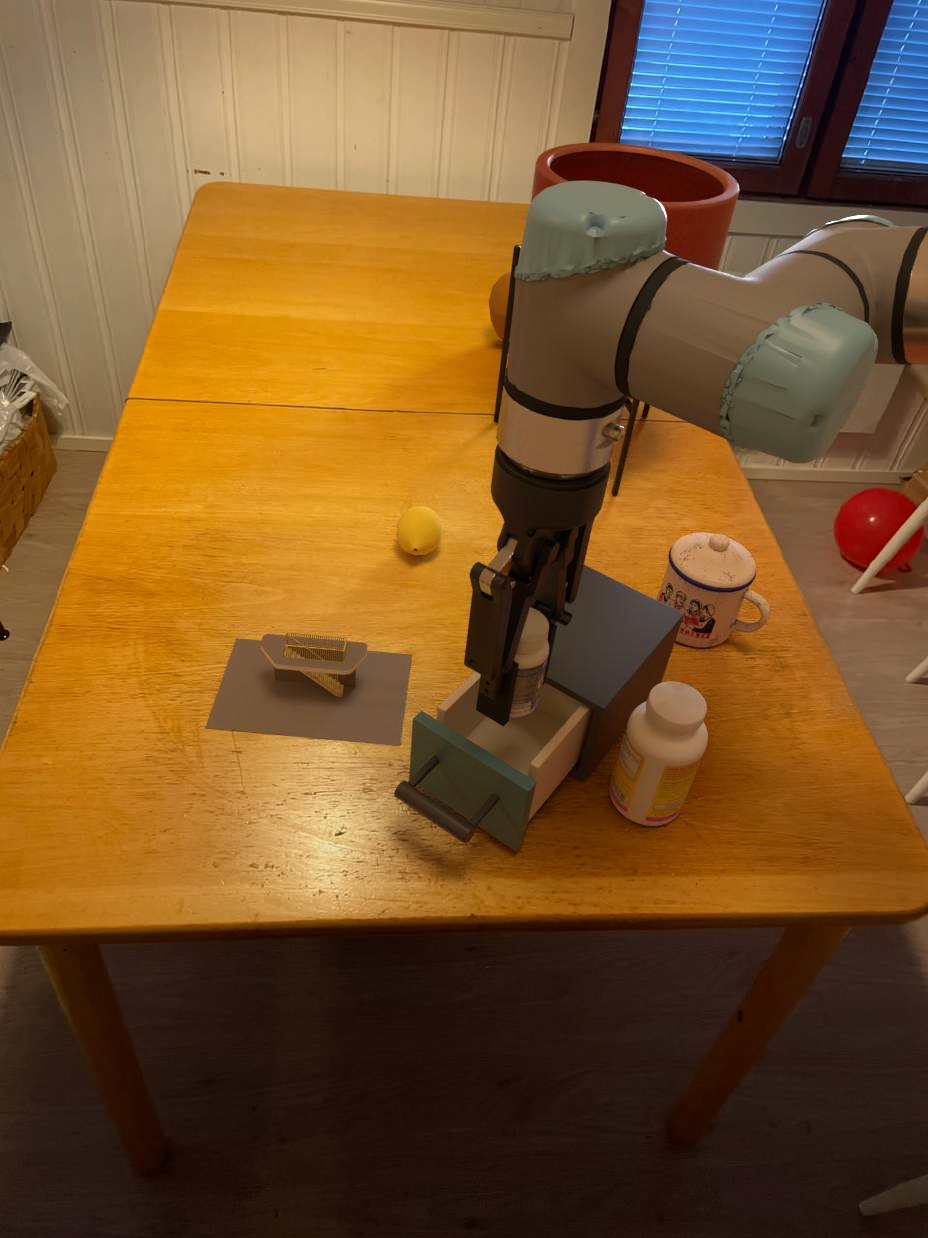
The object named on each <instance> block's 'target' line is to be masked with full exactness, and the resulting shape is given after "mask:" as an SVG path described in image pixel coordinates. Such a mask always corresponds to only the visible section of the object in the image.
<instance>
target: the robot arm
mask: <svg viewBox="0 0 928 1238" xmlns="http://www.w3.org/2000/svg"><path fill="white" fill-rule="evenodd" d="M666 225H667V216H666V213H665V210H664V207H663V206H662V205H661V203H659V202H658V201H657V200H656V199H653V198H651V197H647V196H646V195H645V193H644V192H642V191H639V190H637V189H634V188H630V187H627V186H623V185H619V184H613V183H607V182H599V181H570V182H564V183H559V184H557V185H554V186H552V187H548V188H546V189H544V190H543V191H541V192H540V193H539V194H538V195H537V196H536V197H535V198H534V199H533V200H532V202H531V201H530V205H529V207H528V210H527V212H526V219H525V224H524V230H523V234H522V240H521V244H520V246H521V251H520V256H519V261H518V265H517V266H516V267H515V273H514V277H515V278H516V280H515V292H514V304H513V317H512V327H511V336H510V346H509V349H508V358H507V366H506V374H505V380H504V386H503V393H502V400H501V407H500V414H499V421H498V423H497V428H496V436H495V438H496V441H497V444H496V447H495V450H494V456H493V457H494V458H493V466H492V473H491V480H490V481H491V483H490V495H491V498H492V500H493V503H494V504H495V506H496V508H497V510H498V511H499V513H500V515H501V517H502V519H503V524H502V527H501V530H500V533H499V535H498V538H497V541H496V549H497V553H496V555H495V556H494V557H493V559H492V560H491V561H490V562H489V564H488V565H486V564H484V563H482V562H480V561H477V562H475V563H474V564H473V565H472V567H471V569H470V571H469V581H470V585H471V590H472V591H471V600H470V607H469V608H470V609H469V616H468V626H467V635H466V642H465V650H464V651H465V652H464V658H463V659H464V660H463V665H464V666H465V667H467V668H469V669H470V670H472V671H474V672H477V673H479V674H481V676H480V683H479V690H478V698H477V705H476V710H477V711H478V712H480V713H482V714H483V715H485V716H487V717H488V718H490V719H492V720H493V721H495V722H497V723H498V724H500V725H502V726H503V727H504V726H505V725H506V724H507V723H508V721H509V717H510V712H511V706H512V700H513V695H514V689H515V684H516V678H517V672H518V667H519V664H518V663H516V662H515V661H514V658H515V655H516V652H517V648H518V645H519V642H520V638H521V635H522V632H523V629H524V625H525V622H526V619H527V616H528V612H529V609H530V606H531V608H533V609H536V610H538V611H539V612H541V613H542V614H543V615H544V616H545V617H546V618H547V620H548V623H549V631H548V639H547V640H548V644H549V655H548V659H547V664H546V669H545V673H544V678H543V683H542V686H543V685H544V684H545V682H546V677H547V672H548V668H549V663H550V658H551V653H552V649H553V644H554V639H555V634H556V629H557V626H556V622H558V623H560V624H562V625H564V626H567V625H568V624H569V622H570V621H571V619H572V616H573V614H571V613H569V612H567V611H566V610H565V602H567V603H569V604H572V603H573V601H575V599H576V597H577V593H578V588H579V584H580V579H581V575H582V570H583V566H584V565H585V560H586V556H587V552H588V547H589V542H590V538H591V534H592V529H593V525H594V522H595V520H596V517H597V516H598V515H599V513H600V512H601V510H602V507H603V504H604V501H605V495H606V491H607V488H608V487H607V486H608V483H609V477H610V475H611V474H610V473H611V469H612V463H611V459H612V458H613V456H614V452H615V448H616V444H617V442H620V441H622V440H624V436H625V432H626V428H625V427H624V426H623V425H622V426H621V422H622V417H623V413H624V410H625V406H624V405H625V402H626V400H627V396H629V397H631V398H632V399H631V400H633V399H635V400H640V402H642V403H643V404H645V403H646V404H648V405H650V407H653V408H655V409H657V410H659V411H661V412H664V413H667V414H669V415H670V416H673V417H675V418H677V419H680V420H682V421H684V422H687V423H689V424H691V425H693V426H696V427H698V428H700V429H702V430H703V431H704V430H705V431H707V432H709V433H711V434H713V435H716V436H718V437H720V438H722V439H725V440H727V441H729V442H730V444H732V445H734V446H736V447H738V448H740V449H748V450H750V451H757V452H761V453H764V454H767V455H769V456H773V457H775V458H779V459H781V460H783V461H786V462H789V463H792V464H807V463H811V462H813V461H815V460H817V459H818V458H820V457H822V456H823V455H824V454H825V453H826V452H827V451H828V449H830V447H831V446H832V445H833V444H834V442H835V440H836V439H837V437H838V435H839V433H840V432H841V430H842V429H844V427H845V426H846V424H847V422H848V420H849V419H850V418H851V415H852V414H853V412H854V410H855V408H856V406H857V404H858V402H859V400H860V398H861V396H862V394H863V392H864V390H865V387H866V385H867V383H868V380H869V378H870V376H871V374H872V371H873V368H874V365H878V364H879V365H897V366H899V365H900V366H912V365H916V366H917V365H918V366H928V226H919V225H918V226H916V225H908V226H906V225H904V226H899V225H897V224H896V223H895V222H893V221H891V220H888V219H885V218H884V217H882V216H876V215H869V214H862V215H854V216H849V217H845V218H842V219H839V220H833V221H830V222H827V223H825V224H824V225H822V226H820V227H819V228H815V229H813V230H811V231H809V233H807V234H805V235H804V236H803V237H802V238H801V239H799V240H798V241H797V242H796V243H795V244H793V245H792V246H790V247H789V248H788V249H786V250H784V251H782V252H781V253H779V254H778V255H776V256H775V257H773V258H772V259H770V260H768V261H766V262H765V263H763V264H762V265H760V266H759V267H757V268H754V269H753V270H751V271H749V272H748V273H746V274H745V275H744V276H742V277H740V276H735V275H732V274H729V273H725V272H722V271H720V270H719V271H715V270H712V269H709V268H705V267H702V266H698V265H695V264H693V263H692V262H690V261H687V260H684V259H682V258H680V257H678V256H675V255H672V254H670V253H668V252H666V251H665V250H664V248H665V241H666V240H667V238H666V236H665V234H666ZM566 582H567V583H568V585H566Z"/></svg>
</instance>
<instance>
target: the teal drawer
mask: <svg viewBox="0 0 928 1238" xmlns="http://www.w3.org/2000/svg"><path fill="white" fill-rule="evenodd" d="M480 676H481V674H479V673H477V672H475V671H474V672H473V673H472V674H471V675H469V677H468V678H467V679H466V680H464V681H463V682H462V683H461V684H460V685H459V686H458V687H457V688H455V690H454V691H452V692H451V694H450V695H448V696H447V698H445V699H444V700H443V701H442V702H441V703H440V704H439V705H438V706H437V713H436V718H434V716H432V715H430V714H428V713H427V712H425V711H423V710H420V711H419V712H418V713H417V714H416V715H415V716H414V717H412V726H411V727H412V728H411V743H410V755H409V756H410V760H409V772H408V773H409V775H408V781H407V780H401V781H400V782H399V784H398V785H397V786H396V787H395V790H394V792H393V796H394V797H395V798H396V799H398V800H399V801H401V803H403V804H404V805H405V806H407V807H409V808H411V809H413V810H414V811H415V812H417V813H418V814H420V815H421V816H423V817H424V818H426V819H427V820H428V821H430V822H432V823H433V824H435V825H436V826H438V827H439V828H440V829H442V830H444V831H445V832H446V833H447V834H449V835H450V836H452V837H453V838H455V839H457V840H458V841H460V842H461V843H463V844H468V843H469V842H470V841H471V840H472V838H473V836H474V835H475V833H476V828H477V827H479V828H480V829H482V830H483V831H485V832H486V833H488V834H489V835H491V836H492V837H494V838H495V839H497V840H499V841H500V842H501V843H503V844H504V845H506V846H507V847H509V848H510V849H511V850H514V851H517V850H518V849H519V848H520V847H521V846H522V844H523V843H524V840H525V836H526V832H527V828H528V824H529V822H530V820H531V819H532V818H533V817H534V815H535V814H536V813H537V812H538V811H539V809H540V808H541V807H542V806H543V805H544V803H545V802H546V801H547V799H549V798H550V796H551V795H552V794H553V793H554V792H555V790H556V789H557V787H559V785H560V784H561V783H562V782H563V780H564V779H565V778H566V776H568V775H569V774H568V773H569V772H570V770H571V769H572V768H573V767H574V765H575V764H576V763H577V762H578V761H579V759H580V758H581V757H582V755H583V751H584V747H585V744H586V740H587V736H588V733H589V729H590V725H591V722H592V718H593V714H594V711H595V710H593V709H591V708H589V707H587V706H586V705H584V704H582V703H580V702H579V701H577V700H575V699H573V698H571V697H570V696H568V695H566V694H564V693H563V692H561V691H559V690H557V689H555V688H554V687H552V686H550V685H548V684H547V683H545V684H544V685H543V686H542V688H541V692H540V697H539V701H538V704H537V706H536V708H535V709H534V710H533V711H532V712H531V713H529V714H527V715H525V716H521V717H509V721H508V723H507V724H506V725H505V726H504V727H503V726H502V725H500V724H498V723H497V722H495V721H493V720H492V719H490V718H488V717H487V716H485V715H483V714H482V713H480V712H478V711H477V710H476V705H477V698H478V690H479V683H480ZM418 787H419V788H420V789H422V790H423V791H424V792H423V791H422V790H420V789H419V788H418ZM425 792H426V793H427V794H426V793H425ZM429 795H430V796H429ZM431 796H432V797H433V798H435V799H436V800H435V799H433V798H432V797H431ZM437 800H438V801H437ZM440 802H441V803H442V804H441V803H440ZM443 804H444V805H446V806H444V805H443ZM450 809H451V810H450ZM452 810H453V811H454V812H453V811H452ZM455 812H456V813H458V814H459V815H461V816H462V817H461V816H459V815H458V814H456V813H455ZM463 817H464V818H465V819H466V820H465V819H464V818H463ZM467 820H468V821H467Z"/></svg>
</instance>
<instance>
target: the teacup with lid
mask: <svg viewBox="0 0 928 1238" xmlns="http://www.w3.org/2000/svg"><path fill="white" fill-rule="evenodd" d="M667 556H668V562H667V565H666V569H665V572H664V574H663V578H662V582H661V585H660V587H659V591H658V595H657V597H656V600H657V601H659V602H661V603H664V604H666V605H668V606H670V607H672V608H674V609H676V610H678V611H680V612H682V613H684V617H683V620H682V622H681V625H680V628H679V631H678V634H677V637H676V640H675V642H677V643H680V644H682V645H683V646H684V645H685V646H689V647H694V648H710V647H715V646H718V645H720V644H722V643H723V642H725V641H726V640H727V639H729V638H730V635H731V633H732V631H733V629H734V630H736V631H738V632H742V633H754V632H757V631H759V630H760V629H762V628H763V627H764V626H765V625H766V623H767V622H768V621H769V619H770V616H771V607H770V605H769V603H768V601H767V600H766V599H765V598H764V597H763V596H762V595H761V594H759V593H757V592H755V591H753V590H752V589H750V585H752V583H754V581H755V579H756V577H757V565H756V561H755V559H754V556H753V555H752V554H751V553H750V552H749V550H748V549H746V547H744V545H742V544H741V543H739V542H737V541H735V540H734V539H731V538H729V537H728V536H726V534H722V533H712V532H693V533H688V534H685V535H683V536H681V537H679V538H678V539H676V541H675V542H674V543H673V544H672V545H671V546H670V548H669V551H668V555H667ZM744 601H749V602H750V603H752V604H754V605H755V606H756V607H757V608H758V611H759V613H760V618H759V620H758V621H755V622H751V623H750V622H746V621H742V620H740V619H738V615H739V613H740V610H741V609H742V606H743V603H744Z"/></svg>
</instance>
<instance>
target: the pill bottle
mask: <svg viewBox="0 0 928 1238" xmlns="http://www.w3.org/2000/svg"><path fill="white" fill-rule="evenodd" d="M548 631H549V623H548V620H547V618H546V617H545V616H544V615H543V614H542V613H541V612H539V611H538V610H536V609H533V608H530V609H529V612H528V616H527V619H526V622H525V625H524V629H523V632H522V635H521V638H520V642H519V645H518V648H517V652H516V655H515V658H514V661H515V662H516V663H518V664H519V667H518V672H517V678H516V684H515V689H514V695H513V700H512V706H511V712H510V717H521V716H525V715H527V714H529V713H531V712H532V711H533V710H534V709H535V708H536V706H537V704H538V701H539V697H540V692H541V688H542V683H543V678H544V673H545V669H546V664H547V659H548V655H549V644H548V640H547V639H548Z"/></svg>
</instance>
